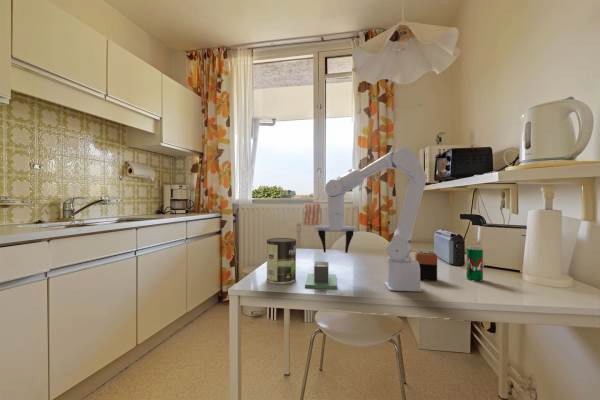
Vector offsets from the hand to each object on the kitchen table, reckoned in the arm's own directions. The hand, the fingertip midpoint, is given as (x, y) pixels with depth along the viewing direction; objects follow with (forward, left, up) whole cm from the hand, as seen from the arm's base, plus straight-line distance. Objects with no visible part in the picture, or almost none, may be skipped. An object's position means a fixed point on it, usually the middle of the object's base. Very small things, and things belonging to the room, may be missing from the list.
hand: (335, 252), depth 102 cm
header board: (+5, +5, -9) cm, 12 cm away
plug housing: (+5, +5, -8) cm, 11 cm away
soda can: (-49, -5, -10) cm, 50 cm away
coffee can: (+19, +4, -10) cm, 22 cm away
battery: (-32, -4, -10) cm, 34 cm away
